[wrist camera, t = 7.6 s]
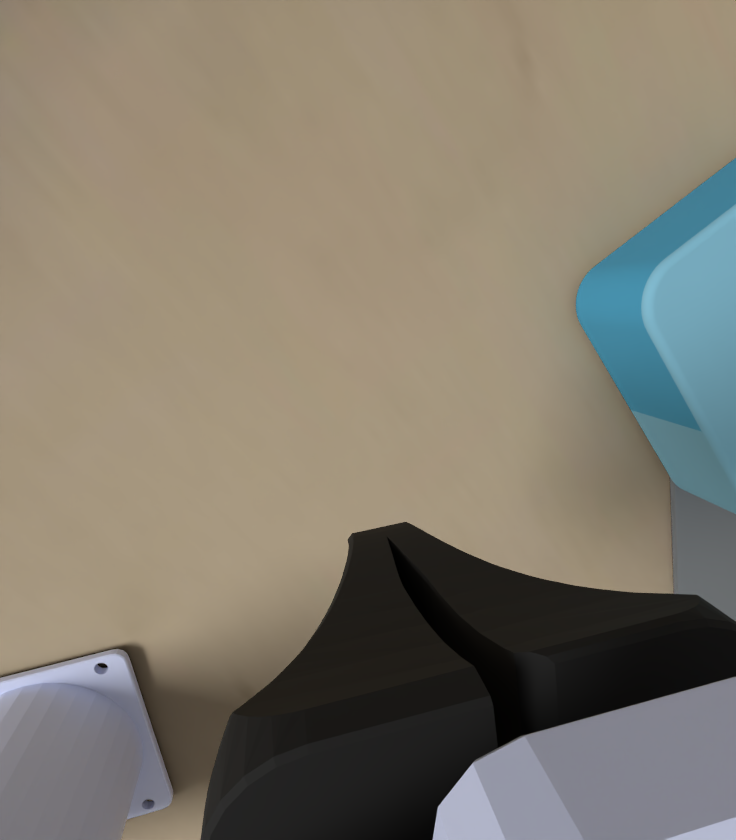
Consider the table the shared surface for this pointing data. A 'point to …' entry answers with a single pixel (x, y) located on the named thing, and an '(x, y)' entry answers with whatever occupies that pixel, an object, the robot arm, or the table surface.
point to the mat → (703, 550)
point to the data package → (676, 334)
